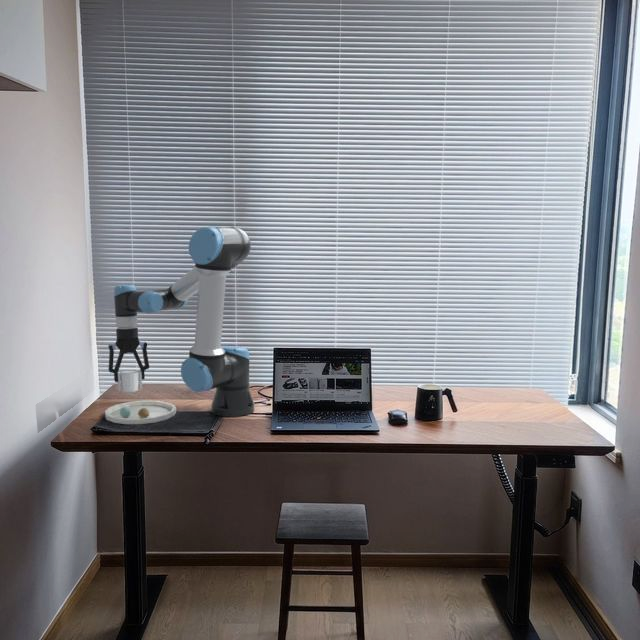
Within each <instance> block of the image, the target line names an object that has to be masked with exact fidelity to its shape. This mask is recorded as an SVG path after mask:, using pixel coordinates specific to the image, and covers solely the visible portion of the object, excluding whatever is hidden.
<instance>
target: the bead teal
mask: <svg viewBox="0 0 640 640" xmlns="http://www.w3.org/2000/svg"><path fill="white" fill-rule="evenodd" d="M130 414H131V410H130V409H129V408H128V407H123V408H122V409H121V410H120V415H121V416H122V417H128V416H129V415H130Z"/></svg>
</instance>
